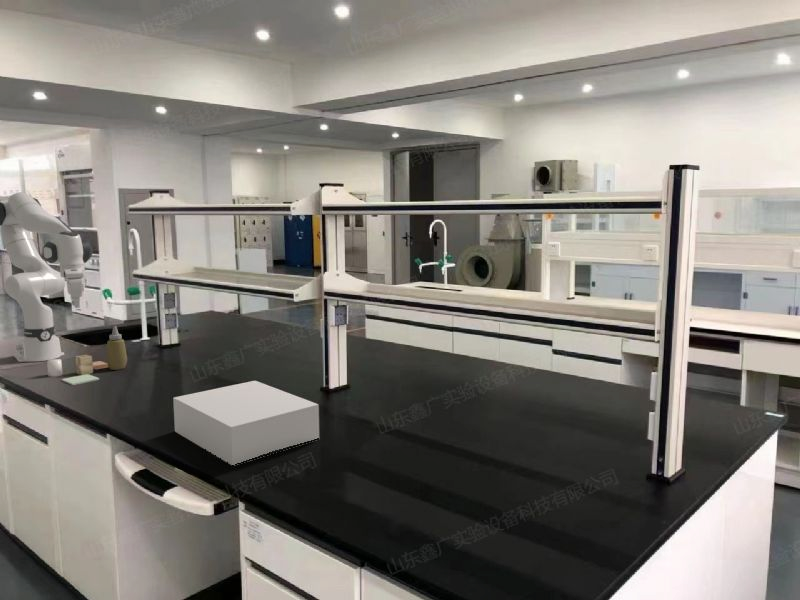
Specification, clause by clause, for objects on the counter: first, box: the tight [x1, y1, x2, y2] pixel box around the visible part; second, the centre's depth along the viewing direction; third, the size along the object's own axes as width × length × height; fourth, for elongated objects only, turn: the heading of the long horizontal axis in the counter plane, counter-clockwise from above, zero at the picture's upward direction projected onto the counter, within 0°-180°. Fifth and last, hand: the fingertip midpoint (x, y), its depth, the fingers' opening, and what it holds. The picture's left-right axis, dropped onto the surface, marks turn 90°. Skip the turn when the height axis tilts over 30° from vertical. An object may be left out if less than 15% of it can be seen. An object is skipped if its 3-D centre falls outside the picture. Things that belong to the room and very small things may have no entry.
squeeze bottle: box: [106, 325, 128, 371], centre depth 257 cm, size 8×8×18 cm
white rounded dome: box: [46, 358, 63, 378], centre depth 248 cm, size 5×5×6 cm
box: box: [172, 380, 320, 466], centre depth 181 cm, size 28×35×11 cm
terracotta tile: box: [92, 360, 109, 370], centre depth 261 cm, size 7×5×2 cm
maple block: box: [75, 354, 94, 376], centre depth 251 cm, size 4×4×7 cm
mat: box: [61, 374, 100, 386], centre depth 240 cm, size 10×10×1 cm
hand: (76, 306), depth 248 cm, fingers open, 8 cm apart
